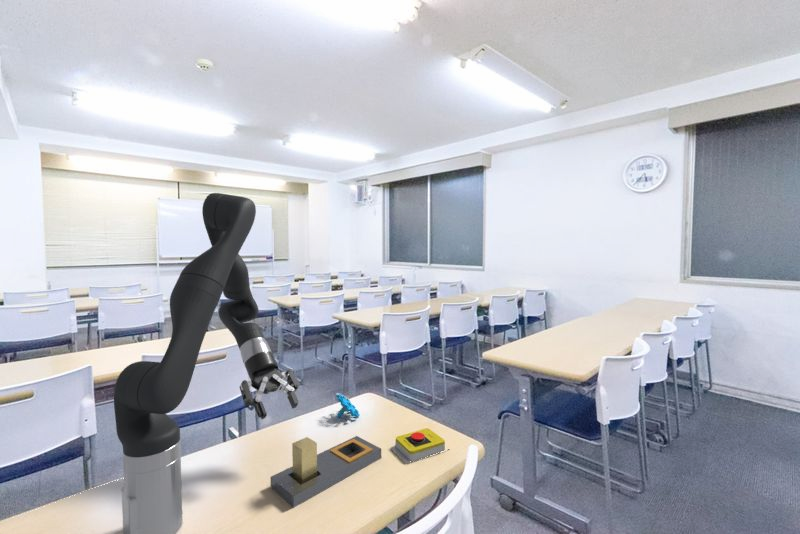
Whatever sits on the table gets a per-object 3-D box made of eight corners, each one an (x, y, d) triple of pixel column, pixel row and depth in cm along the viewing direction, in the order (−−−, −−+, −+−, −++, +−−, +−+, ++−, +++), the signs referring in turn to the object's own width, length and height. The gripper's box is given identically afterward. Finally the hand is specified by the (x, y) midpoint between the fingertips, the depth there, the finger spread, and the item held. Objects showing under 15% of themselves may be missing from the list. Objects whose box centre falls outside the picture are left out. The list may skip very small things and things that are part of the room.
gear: (360, 418, 118) (338, 396, 118) (347, 432, 117) (325, 410, 117) (361, 408, 128) (340, 388, 129) (349, 421, 128) (328, 401, 128)
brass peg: (302, 492, 84) (301, 449, 84) (292, 485, 87) (292, 443, 86) (317, 484, 87) (316, 442, 86) (307, 477, 90) (307, 436, 89)
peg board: (293, 507, 79) (293, 494, 79) (270, 487, 86) (270, 475, 86) (381, 457, 98) (381, 447, 98) (356, 444, 105) (356, 434, 105)
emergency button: (389, 433, 103) (434, 421, 110) (389, 449, 103) (434, 436, 111) (406, 449, 95) (453, 435, 102) (406, 466, 95) (453, 450, 102)
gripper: (236, 356, 94) (258, 413, 87) (286, 345, 104) (310, 396, 97) (227, 372, 98) (248, 428, 90) (277, 360, 108) (299, 410, 101)
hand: (280, 411), depth 94 cm, fingers open, 8 cm apart
